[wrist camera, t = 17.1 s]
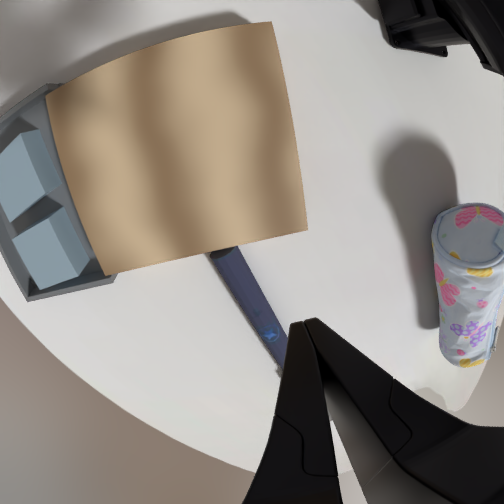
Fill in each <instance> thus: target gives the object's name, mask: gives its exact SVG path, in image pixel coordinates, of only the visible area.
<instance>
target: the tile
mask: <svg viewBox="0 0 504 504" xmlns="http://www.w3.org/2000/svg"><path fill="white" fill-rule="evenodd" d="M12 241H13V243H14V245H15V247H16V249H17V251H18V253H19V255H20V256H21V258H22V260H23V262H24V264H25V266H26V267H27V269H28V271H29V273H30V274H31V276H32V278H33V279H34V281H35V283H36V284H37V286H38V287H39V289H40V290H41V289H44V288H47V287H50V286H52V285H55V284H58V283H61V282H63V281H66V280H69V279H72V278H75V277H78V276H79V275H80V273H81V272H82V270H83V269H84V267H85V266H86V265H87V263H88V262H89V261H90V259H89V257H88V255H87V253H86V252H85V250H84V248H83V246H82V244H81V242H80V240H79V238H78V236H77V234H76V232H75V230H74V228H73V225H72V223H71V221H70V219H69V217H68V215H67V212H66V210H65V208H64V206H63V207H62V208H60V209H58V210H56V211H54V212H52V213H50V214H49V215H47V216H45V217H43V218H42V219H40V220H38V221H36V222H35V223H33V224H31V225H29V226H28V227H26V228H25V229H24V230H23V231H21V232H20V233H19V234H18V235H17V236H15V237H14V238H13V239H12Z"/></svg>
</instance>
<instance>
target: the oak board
mask: <svg viewBox="0 0 504 504" xmlns="http://www.w3.org/2000/svg"><path fill="white" fill-rule="evenodd" d="M45 97H46V103H47V108H48V113H49V118H50V123H51V127H52V131H53V135H54V139H55V143H56V147H57V151H58V154H59V158H60V161H61V165H62V168H63V171H64V175H65V178H66V181H67V184H68V187H69V190H70V193H71V196H72V198H73V201H74V204H75V207H76V209H77V212H78V215H79V217H80V220H81V222H82V225H83V227H84V230H85V232H86V234H87V237H88V239H89V241H90V244H91V246H92V248H93V250H94V253H95V255H96V257H97V259H98V261H99V264H100V266H101V268H102V270H103V272H104V274H105V276H107V275H112V274H116V273H120V272H124V271H129V270H133V269H137V268H141V267H146V266H150V265H154V264H159V263H163V262H167V261H172V260H176V259H180V258H185V257H189V256H193V255H198V254H202V253H207V252H211V251H215V250H220V249H224V248H229V247H233V246H238V245H242V244H247V243H251V242H256V241H260V240H265V239H269V238H274V237H278V236H283V235H287V234H292V233H296V232H301V231H306V230H308V226H307V217H306V209H305V200H304V193H303V185H302V178H301V171H300V164H299V157H298V151H297V144H296V138H295V132H294V126H293V120H292V115H291V109H290V104H289V98H288V93H287V88H286V83H285V78H284V73H283V69H282V64H281V59H280V55H279V50H278V46H277V42H276V37H275V33H274V29H273V25H272V21H271V22H260V23H251V24H244V25H237V26H230V27H224V28H219V29H214V30H209V31H204V32H199V33H195V34H191V35H187V36H183V37H179V38H176V39H172V40H169V41H165V42H162V43H159V44H156V45H153V46H150V47H147V48H144V49H141V50H138V51H135V52H133V53H130V54H127V55H125V56H122V57H120V58H117V59H115V60H113V61H110V62H108V63H106V64H104V65H101V66H99V67H97V68H95V69H93V70H91V71H89V72H87V73H85V74H83V75H81V76H79V77H77V78H75V79H73V80H71V81H69V82H68V83H66V84H64V85H62V86H61V87H59V88H57V89H55V90H54V91H52V92H50V93H49V94H47V95H46V96H45Z"/></svg>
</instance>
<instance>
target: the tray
mask: <svg viewBox="0 0 504 504" xmlns="http://www.w3.org/2000/svg"><path fill="white" fill-rule="evenodd" d="M62 85H63V83H60V84H46V85H44V86H42V87H41V88H39V89H38V90H36V91H35V92H33V93H32V94H31V95H29V96H28V97H26V98H25V99H23V100H22V101H21V102H19V103H18V104H17V105H15V106H14V107H13V108H11V109H10V110H9V111H8V112H6V113H5V114H4V115H3V116H1V117H0V154H1V153H2V152H3V151H4V150H5V148H6V147H7V146H8V145H9V144H10V143H11V142H12V141H13V140H14V139H15V138H16V137H17V136H18V135H19V134H20V133H24V132H29V131H33V130H38V129H39V130H40V133H41V136H42V138H43V141H44V143H45V146H46V148H47V151H48V153H49V155H50V158H51V160H52V162H53V165H54V167H55V169H56V171H57V173H58V176H59V178H60V180H61V182H62V184H61V185H59V186H58V187H57V188H55V189H54V190H52V191H51V192H50V193H48V194H47V195H46V196H45V197H43V198H42V199H41V200H39V201H38V202H37V203H36V204H34V205H33V206H32V207H31V208H29V209H28V210H27V211H26V212H24V213H23V214H21V215H20V216H19V217H17V218H16V219H14V220H13V221H12V222H9V220H8V218H7V216H6V214H5V212H4V210H3V207H2V205H1V203H0V252H1V254H2V256H3V258H4V260H5V262H6V264H7V266H8V268H9V270H10V272H11V274H12V276H13V278H14V279H15V281H16V283H17V285H18V287H19V288H20V290H21V292H22V294H23V295H24V297H25V299H26V300H27V302H30V301H35V300H39V299H44V298H48V297H53V296H57V295H62V294H66V293H71V292H75V291H80V290H84V289H89V288H93V287H98V286H102V285H106V284H111V283H113V282H114V280H115V278H116V276H117V274H118V273H116V274H112V275H107V276H105V274H104V272H103V270H102V268H101V266H100V264H99V261H98V259H97V257H96V255H95V253H94V250H93V248H92V246H91V244H90V241H89V239H88V237H87V234H86V232H85V230H84V227H83V225H82V222H81V220H80V217H79V215H78V212H77V209H76V207H75V204H74V201H73V198H72V196H71V193H70V190H69V187H68V184H67V181H66V178H65V175H64V171H63V168H62V165H61V161H60V158H59V154H58V151H57V147H56V143H55V139H54V135H53V131H52V127H51V123H50V118H49V113H48V108H47V103H46V97H45V96H46V95H47V94H49V93H50V92H52V91H54V90H55V89H57V88H59V87H61V86H62ZM63 206H64V208H65V210H66V212H67V215H68V217H69V219H70V221H71V223H72V225H73V228H74V230H75V232H76V234H77V236H78V238H79V240H80V242H81V244H82V246H83V248H84V250H85V252H86V253H87V255H88V257H89V259H90V261H89V262H88V263H87V265H86V266H85V267H84V269H83V270H82V272H81V273H80V275H79V276H78V277H75V278H72V279H69V280H66V281H63V282H61V283H58V284H55V285H52V286H50V287H47V288H44V289H41V290H40V289H39V287H38V286H37V284H36V283H35V281H34V279H33V278H32V276H31V274H30V273H29V271H28V269H27V267H26V266H25V264H24V262H23V260H22V258H21V256H20V255H19V253H18V251H17V249H16V247H15V245H14V243H13V241H12V239H13V238H14V237H15V236H17V235H18V234H19V233H20V232H21V231H23V230H24V229H25V228H26V227H28V226H29V225H31V224H33V223H35V222H36V221H38V220H40V219H42V218H43V217H45V216H47V215H49V214H50V213H52V212H54V211H56V210H58V209H60V208H62V207H63Z"/></svg>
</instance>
